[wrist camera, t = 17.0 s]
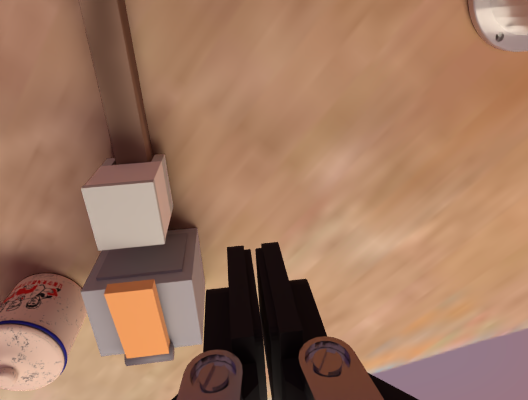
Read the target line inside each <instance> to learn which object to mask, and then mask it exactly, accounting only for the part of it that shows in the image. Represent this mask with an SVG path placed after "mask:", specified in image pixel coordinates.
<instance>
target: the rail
mask: <svg viewBox="0 0 528 400" xmlns="http://www.w3.org/2000/svg"><path fill="white" fill-rule="evenodd" d="M79 4H80V8H81V13H82V17H83V21H84V26H85V30H86V35H87V39H88V43H89V48H90V52H91V56H92V61H93V65H94V69H95V74H96V78H97V83H98V87H99V91H100V96H101V100H102V104H103V109H104V113H105V117H106V122H107V126H108V131H109V135H110V139H111V144H112V148H113V152H114V157H115V161H116V165H120V164H132V163H144V162H151V161H152V159H153V153H152V148H151V142H150V137H149V131H148V126H147V120H146V115H145V110H144V104H143V99H142V93H141V88H140V82H139V77H138V71H137V66H136V61H135V55H134V50H133V44H132V39H131V33H130V28H129V22H128V17H127V12H126V6H125V1H124V0H79Z"/></svg>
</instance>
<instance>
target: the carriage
mask: <svg viewBox="0 0 528 400" xmlns="http://www.w3.org/2000/svg"><path fill="white" fill-rule="evenodd" d="M81 191H82V194H83V198H84V202H85V205H86V209H87V212H88V216H89V219H90V223H91V227H92V230H93V234H94V237H95V241H96V245H97V248H98V251H101V250H111V249H121V248H131V247H141V246H151V245H161V244H165V242H166V240H165V239H166V234H167V230H168V226H169V222H170V218H171V214H172V210H173V201H172V195H171V189H170V183H169V177H168V171H167V165H166V159H165V154H156V155H154V157H153V159H152V161H151V162H144V163H132V164H120V165H116V161H115V158H107V159H106V160H105V161H104V163H103V164H102V165H101V166H100V167H99V169H98V170H97V171H96V172H95V173H94V175H93V176H92V177H91V178H90V179H89V181H88V182H87V183H86V184H85V185H84V186H82V188H81Z"/></svg>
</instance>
